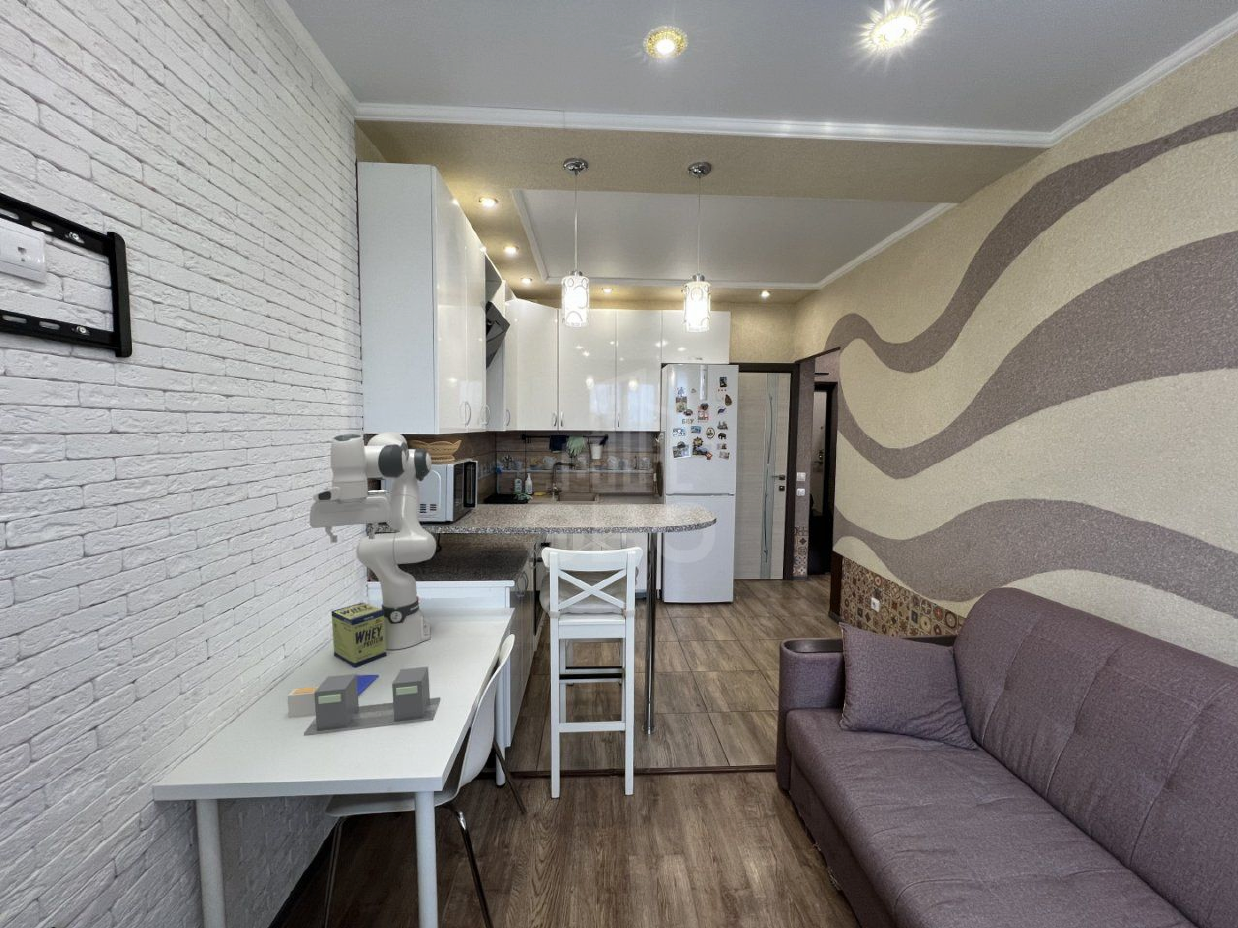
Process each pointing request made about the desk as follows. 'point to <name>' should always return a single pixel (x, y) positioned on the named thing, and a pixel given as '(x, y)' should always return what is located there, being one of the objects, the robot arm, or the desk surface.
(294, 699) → the loose module
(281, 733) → the desk surface
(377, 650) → the protein box
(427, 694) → the block
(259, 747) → the desk surface
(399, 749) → the desk surface
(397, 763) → the desk surface
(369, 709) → the rail plate
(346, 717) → the block
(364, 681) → the hard drive
